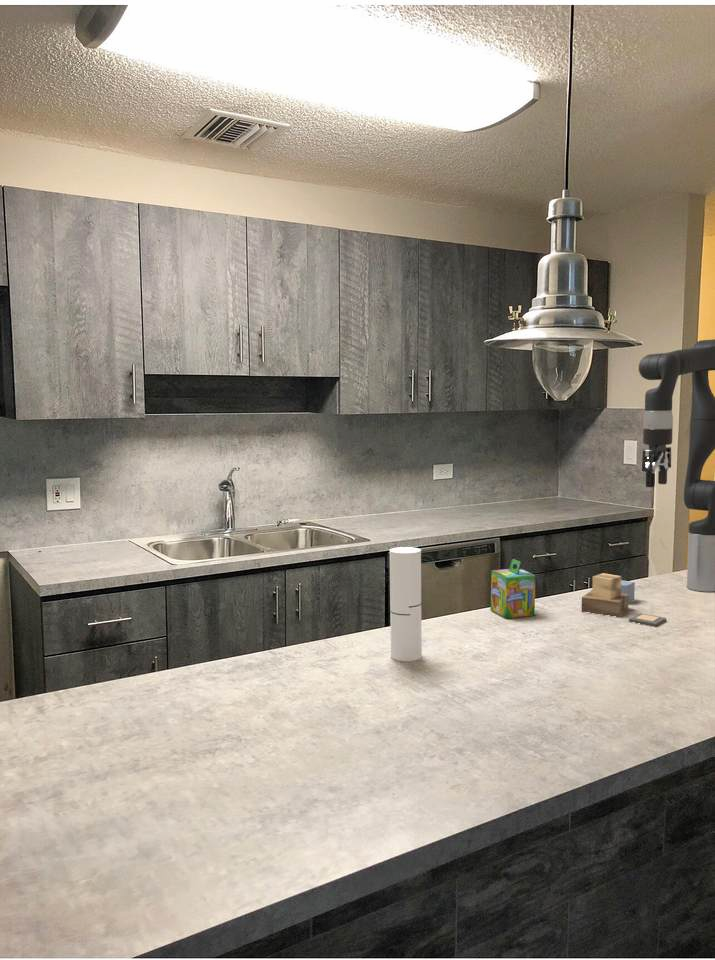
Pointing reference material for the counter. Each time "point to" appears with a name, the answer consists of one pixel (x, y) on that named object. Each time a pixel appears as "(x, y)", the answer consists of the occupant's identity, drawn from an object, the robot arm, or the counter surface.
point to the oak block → (606, 586)
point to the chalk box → (513, 592)
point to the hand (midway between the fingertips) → (656, 485)
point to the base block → (605, 604)
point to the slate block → (628, 589)
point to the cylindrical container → (405, 603)
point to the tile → (647, 619)
